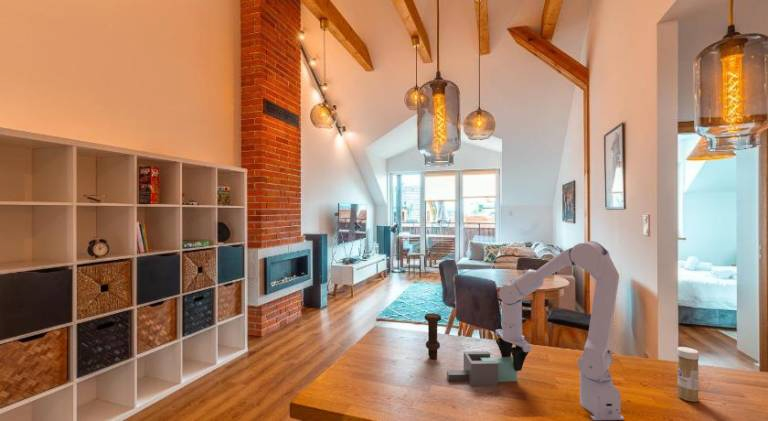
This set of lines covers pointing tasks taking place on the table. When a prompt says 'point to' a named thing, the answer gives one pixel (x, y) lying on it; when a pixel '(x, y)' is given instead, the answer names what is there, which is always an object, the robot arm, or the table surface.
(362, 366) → the table surface
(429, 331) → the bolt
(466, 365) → the header
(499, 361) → the plug
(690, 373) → the sprinkles bottle
